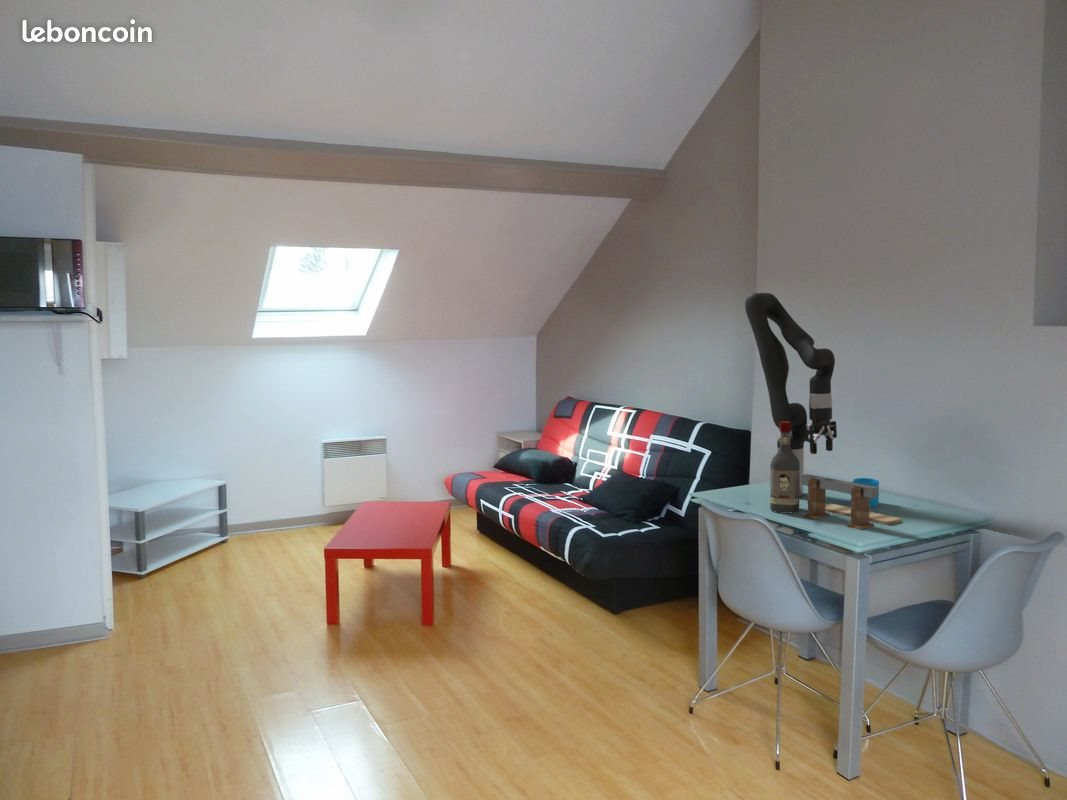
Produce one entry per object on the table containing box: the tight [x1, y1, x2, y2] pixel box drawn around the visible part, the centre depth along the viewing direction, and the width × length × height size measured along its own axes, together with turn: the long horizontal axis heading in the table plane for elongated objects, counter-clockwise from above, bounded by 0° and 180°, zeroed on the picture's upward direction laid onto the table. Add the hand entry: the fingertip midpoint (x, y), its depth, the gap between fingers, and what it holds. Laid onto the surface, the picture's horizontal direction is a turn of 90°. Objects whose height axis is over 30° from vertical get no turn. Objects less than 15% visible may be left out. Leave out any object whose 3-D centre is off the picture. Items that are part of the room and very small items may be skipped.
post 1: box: [803, 479, 831, 520], centre depth 269 cm, size 5×7×12 cm
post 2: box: [845, 487, 875, 531], centre depth 256 cm, size 5×7×12 cm
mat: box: [825, 503, 903, 526], centre depth 269 cm, size 26×7×1 cm, turn 34°
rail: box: [801, 473, 878, 498], centre depth 262 cm, size 26×3×3 cm, turn 34°
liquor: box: [769, 421, 800, 513], centre depth 277 cm, size 9×9×30 cm
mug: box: [849, 477, 880, 507], centre depth 286 cm, size 12×8×8 cm
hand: (821, 452), depth 289 cm, fingers open, 8 cm apart
